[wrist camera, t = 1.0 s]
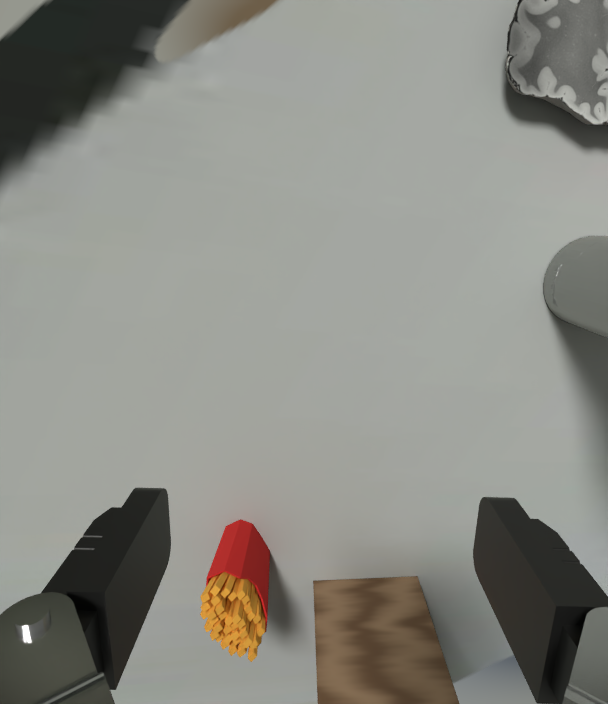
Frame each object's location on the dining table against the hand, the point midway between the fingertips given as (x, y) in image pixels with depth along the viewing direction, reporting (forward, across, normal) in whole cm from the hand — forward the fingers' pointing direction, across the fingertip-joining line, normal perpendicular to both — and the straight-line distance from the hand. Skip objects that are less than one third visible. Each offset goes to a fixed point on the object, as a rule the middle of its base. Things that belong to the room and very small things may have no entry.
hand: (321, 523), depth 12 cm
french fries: (+39, +8, +30) cm, 50 cm away
